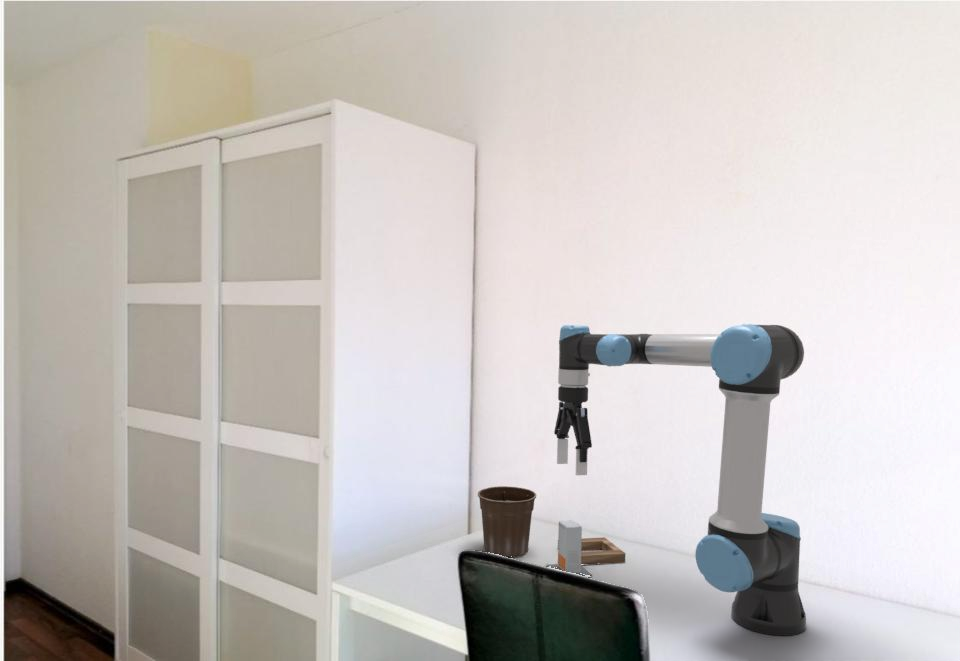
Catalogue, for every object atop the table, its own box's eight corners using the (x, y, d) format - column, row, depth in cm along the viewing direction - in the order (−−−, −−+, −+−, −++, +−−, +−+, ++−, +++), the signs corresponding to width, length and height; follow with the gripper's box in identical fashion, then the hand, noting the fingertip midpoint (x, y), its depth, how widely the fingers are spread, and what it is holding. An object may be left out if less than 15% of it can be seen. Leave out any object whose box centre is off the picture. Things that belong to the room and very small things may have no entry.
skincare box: (557, 566, 191) (558, 520, 191) (572, 565, 192) (573, 519, 192) (565, 574, 185) (566, 527, 185) (581, 573, 186) (582, 526, 186)
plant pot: (518, 565, 193) (519, 504, 193) (465, 554, 201) (466, 495, 201) (544, 548, 207) (546, 491, 207) (494, 538, 215) (495, 483, 215)
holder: (625, 562, 197) (625, 553, 197) (575, 565, 194) (576, 556, 194) (604, 546, 211) (604, 537, 211) (557, 548, 207) (557, 539, 207)
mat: (591, 577, 186) (591, 574, 186) (557, 579, 184) (557, 576, 184) (578, 564, 194) (578, 562, 194) (546, 567, 192) (546, 564, 192)
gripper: (606, 391, 176) (604, 479, 177) (569, 381, 201) (568, 458, 201) (577, 391, 175) (575, 480, 175) (543, 381, 199) (541, 459, 199)
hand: (571, 469), depth 188 cm, fingers open, 13 cm apart
